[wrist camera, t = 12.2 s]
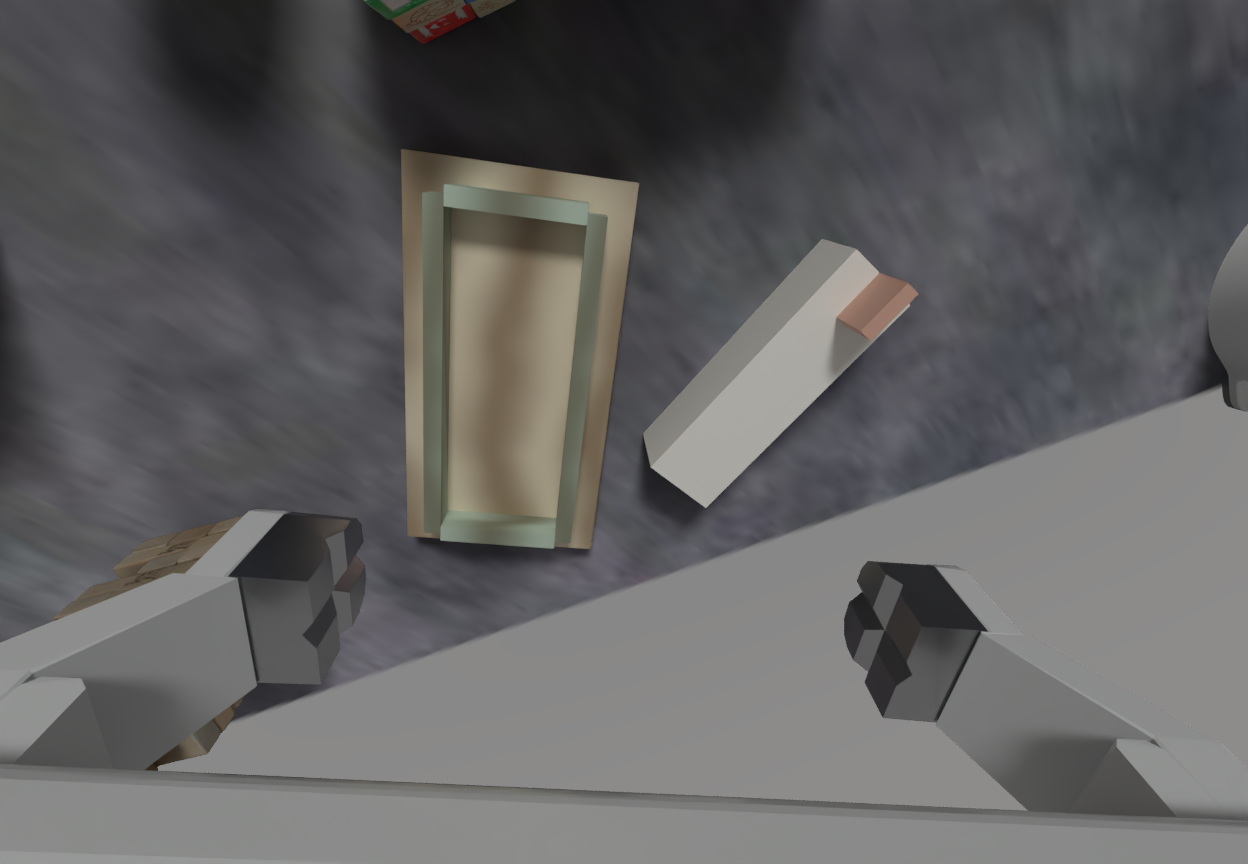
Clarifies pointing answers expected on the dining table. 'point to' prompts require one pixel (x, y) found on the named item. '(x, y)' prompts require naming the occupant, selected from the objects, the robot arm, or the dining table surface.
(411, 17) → the stack of blocks
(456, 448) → the tray
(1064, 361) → the dining table surface
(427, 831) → the robot arm
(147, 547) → the block tower
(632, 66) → the dining table surface
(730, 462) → the white bar with tab
